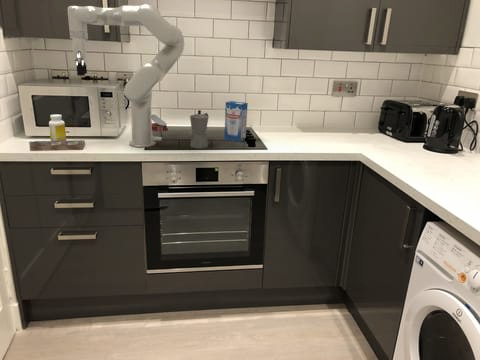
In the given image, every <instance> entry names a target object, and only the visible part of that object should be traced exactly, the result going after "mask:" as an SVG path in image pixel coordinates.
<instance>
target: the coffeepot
mask: <svg viewBox="0 0 480 360" xmlns="http://www.w3.org/2000/svg"><path fill="white" fill-rule="evenodd" d="M189 120H190V127H191V131H192V133H191V138H190V144H189V146H190V147H191V148H192V147H193V149H206V148H208V147H209V146H208V145H209V142H208V137H207V136H208V135H207V129H208V123H209V114H208V113H207V112H206V113H202V110H200V109H198V110H197V113H195V114H191V115H190V116H189Z"/></svg>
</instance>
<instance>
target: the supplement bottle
mask: <svg viewBox="0 0 480 360" xmlns="http://www.w3.org/2000/svg"><path fill="white" fill-rule="evenodd" d="M49 117H50V120H49V122H48V127H49V136H50V137H49V138H50V141H66V140H67V132H66V123H65V120H62V117H63V116H62V114H50V116H49Z"/></svg>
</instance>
